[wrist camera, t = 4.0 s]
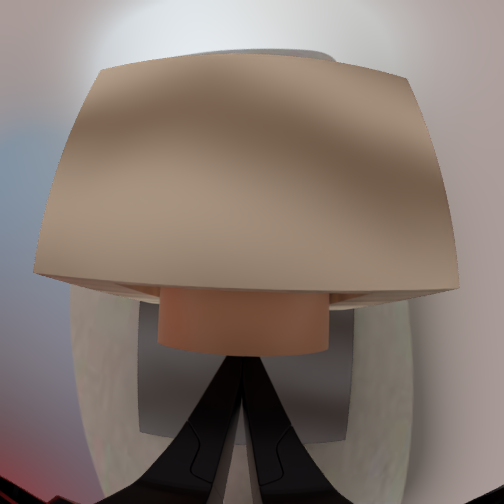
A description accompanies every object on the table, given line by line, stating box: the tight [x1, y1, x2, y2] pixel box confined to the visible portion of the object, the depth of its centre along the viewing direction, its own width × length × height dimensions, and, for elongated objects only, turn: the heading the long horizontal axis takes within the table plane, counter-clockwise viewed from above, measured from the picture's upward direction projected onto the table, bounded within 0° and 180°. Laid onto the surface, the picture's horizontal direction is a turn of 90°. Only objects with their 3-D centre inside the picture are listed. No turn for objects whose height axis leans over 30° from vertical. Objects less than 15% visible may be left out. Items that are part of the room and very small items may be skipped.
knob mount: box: [33, 54, 459, 445], centre depth 12 cm, size 18×14×12 cm
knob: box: [158, 287, 329, 357], centre depth 11 cm, size 7×6×6 cm
